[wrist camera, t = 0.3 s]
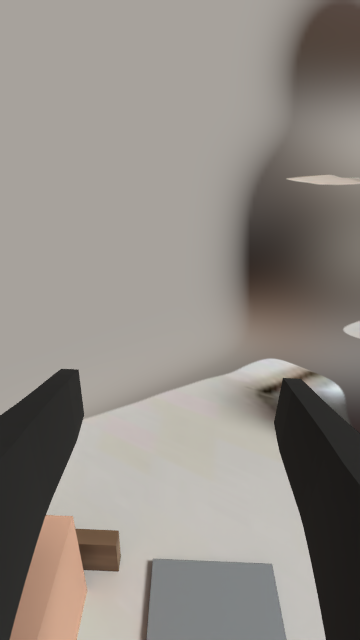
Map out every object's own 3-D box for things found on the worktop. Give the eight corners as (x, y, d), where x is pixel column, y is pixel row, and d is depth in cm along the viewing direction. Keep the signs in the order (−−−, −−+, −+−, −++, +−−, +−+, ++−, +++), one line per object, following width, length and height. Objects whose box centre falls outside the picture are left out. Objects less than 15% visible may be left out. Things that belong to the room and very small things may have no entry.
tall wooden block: (47, 774, 18) (11, 725, 13) (-12, 772, 18) (-68, 721, 13) (87, 590, 25) (72, 516, 20) (45, 588, 25) (21, 514, 20)
